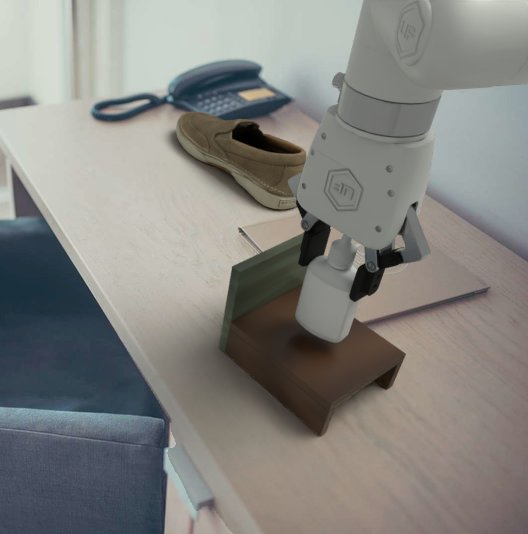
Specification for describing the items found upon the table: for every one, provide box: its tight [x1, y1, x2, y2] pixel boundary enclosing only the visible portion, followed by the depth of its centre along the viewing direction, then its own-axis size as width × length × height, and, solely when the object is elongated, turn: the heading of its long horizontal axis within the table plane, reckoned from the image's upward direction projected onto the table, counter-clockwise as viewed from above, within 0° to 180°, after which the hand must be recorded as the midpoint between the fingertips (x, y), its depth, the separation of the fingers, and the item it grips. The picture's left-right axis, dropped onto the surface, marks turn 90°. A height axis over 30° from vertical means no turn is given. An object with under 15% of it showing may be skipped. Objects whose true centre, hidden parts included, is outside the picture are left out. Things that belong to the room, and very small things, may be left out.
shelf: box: [218, 232, 407, 437], centre depth 69 cm, size 15×12×12 cm
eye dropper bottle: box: [295, 234, 361, 343], centre depth 64 cm, size 4×6×12 cm
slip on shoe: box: [175, 111, 307, 210], centre depth 105 cm, size 30×11×9 cm, turn 25°
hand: (335, 276), depth 63 cm, fingers closed on eye dropper bottle, 5 cm apart
